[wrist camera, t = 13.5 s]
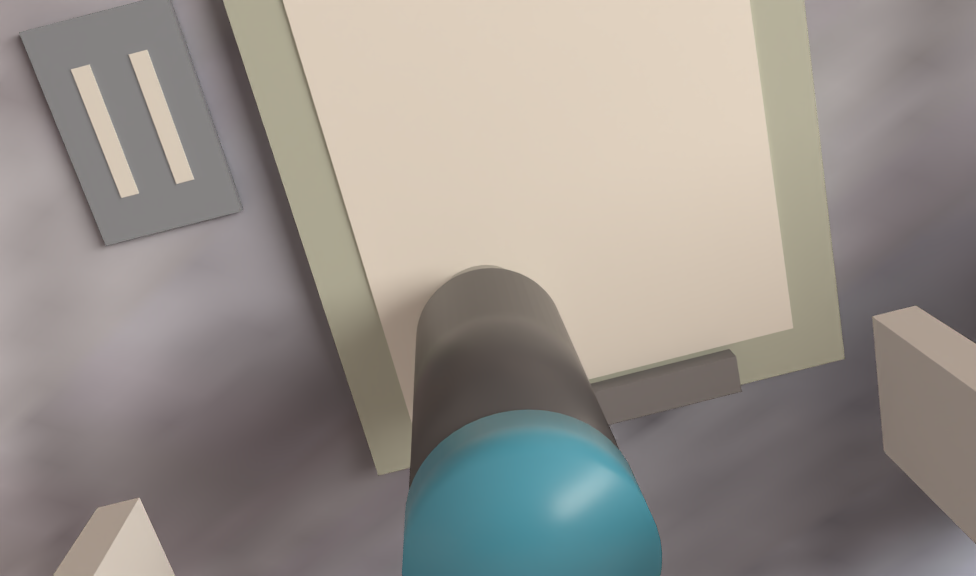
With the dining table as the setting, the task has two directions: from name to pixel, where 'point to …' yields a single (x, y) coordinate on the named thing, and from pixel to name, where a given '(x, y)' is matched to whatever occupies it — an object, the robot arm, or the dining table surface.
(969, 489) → the robot arm
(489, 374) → the marker
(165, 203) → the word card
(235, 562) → the dining table surface
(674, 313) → the cream square framed board
